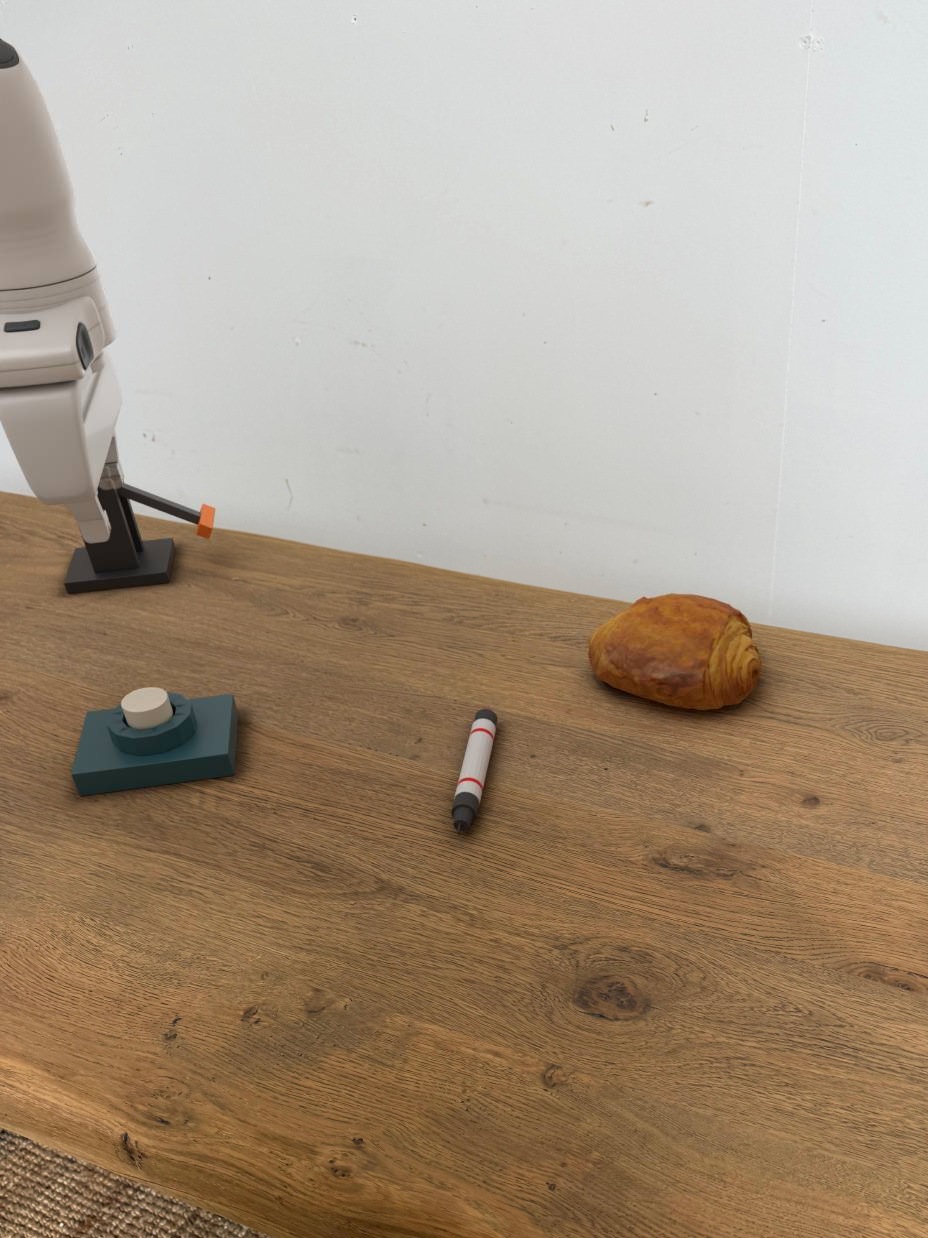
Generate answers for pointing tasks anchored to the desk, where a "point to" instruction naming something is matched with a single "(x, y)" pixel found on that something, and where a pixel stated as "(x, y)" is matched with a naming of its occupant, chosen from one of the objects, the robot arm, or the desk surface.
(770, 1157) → the desk surface
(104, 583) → the pivot lever stand
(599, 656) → the croissant
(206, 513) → the lever switch
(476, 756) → the marker
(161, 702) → the power button
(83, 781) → the block
